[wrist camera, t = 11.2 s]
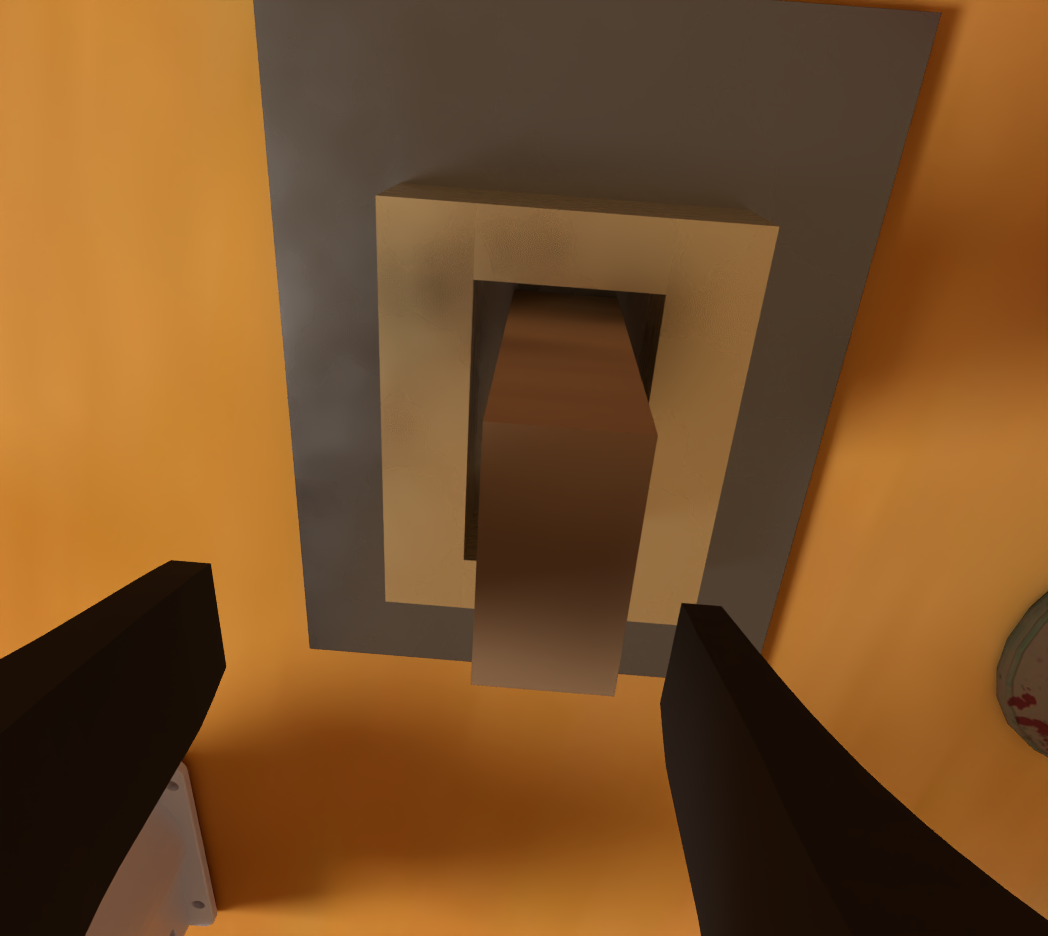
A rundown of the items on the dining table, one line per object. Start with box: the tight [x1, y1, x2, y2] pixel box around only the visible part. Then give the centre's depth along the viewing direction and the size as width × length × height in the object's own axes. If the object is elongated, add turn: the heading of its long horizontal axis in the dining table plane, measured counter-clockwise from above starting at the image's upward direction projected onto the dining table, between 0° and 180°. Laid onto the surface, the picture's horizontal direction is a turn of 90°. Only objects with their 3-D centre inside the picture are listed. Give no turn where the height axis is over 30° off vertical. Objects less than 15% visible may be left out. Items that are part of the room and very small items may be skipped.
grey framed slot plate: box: [253, 0, 941, 678], centre depth 18 cm, size 18×14×3 cm
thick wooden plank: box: [471, 290, 658, 696], centre depth 15 cm, size 5×2×8 cm, turn 176°
